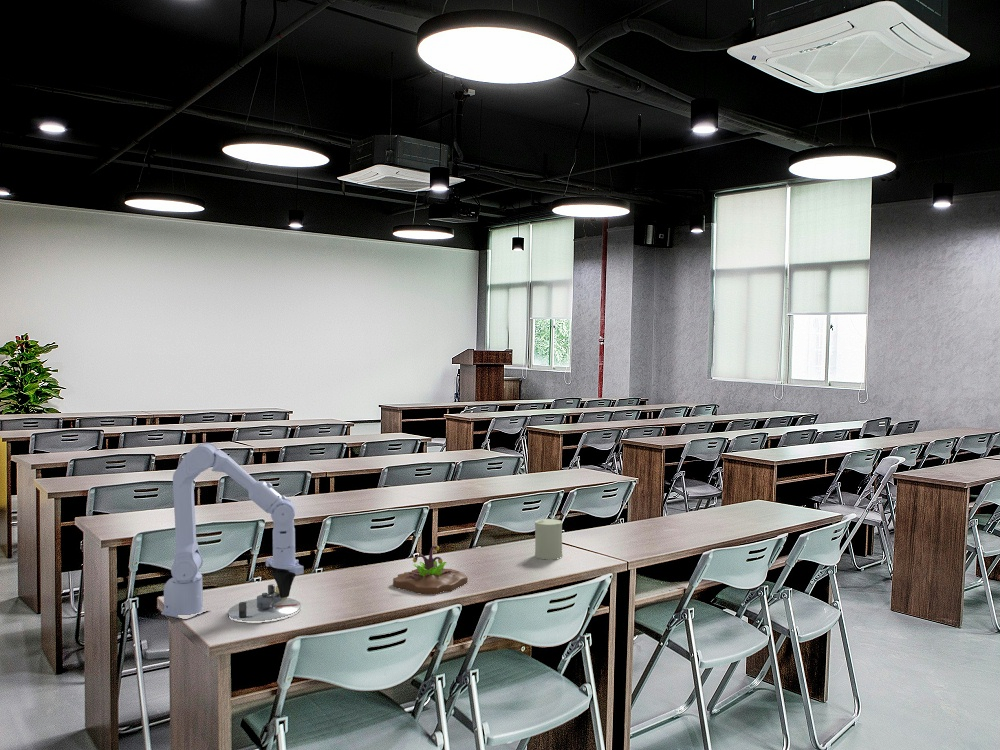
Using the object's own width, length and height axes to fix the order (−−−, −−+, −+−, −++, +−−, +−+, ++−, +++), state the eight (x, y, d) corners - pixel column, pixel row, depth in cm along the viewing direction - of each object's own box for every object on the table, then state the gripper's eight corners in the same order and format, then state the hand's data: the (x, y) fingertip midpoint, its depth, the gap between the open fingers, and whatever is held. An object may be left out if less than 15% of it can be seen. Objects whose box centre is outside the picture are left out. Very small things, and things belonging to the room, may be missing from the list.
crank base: (212, 616, 193) (212, 598, 193) (265, 597, 209) (265, 580, 209) (264, 628, 185) (264, 608, 184) (315, 606, 200) (314, 588, 200)
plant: (479, 583, 222) (479, 545, 222) (431, 599, 207) (431, 558, 207) (431, 571, 235) (431, 535, 235) (383, 585, 220) (383, 547, 220)
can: (530, 554, 254) (530, 518, 253) (556, 551, 256) (556, 516, 256) (540, 560, 245) (540, 524, 245) (566, 558, 248) (566, 522, 247)
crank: (266, 609, 194) (266, 597, 194) (253, 607, 195) (253, 595, 195) (291, 597, 204) (290, 585, 204) (278, 596, 205) (278, 584, 205)
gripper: (313, 547, 199) (313, 598, 200) (281, 539, 209) (282, 588, 209) (290, 552, 194) (290, 605, 194) (258, 544, 203) (259, 594, 204)
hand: (284, 596), depth 201 cm, fingers closed
